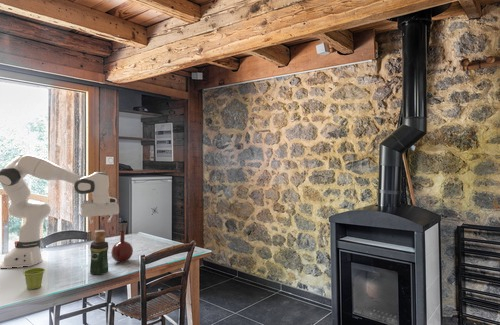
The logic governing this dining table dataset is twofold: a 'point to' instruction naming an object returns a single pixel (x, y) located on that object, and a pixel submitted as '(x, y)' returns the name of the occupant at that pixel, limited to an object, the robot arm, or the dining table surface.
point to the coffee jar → (99, 258)
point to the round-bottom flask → (122, 249)
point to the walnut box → (99, 236)
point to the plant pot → (34, 277)
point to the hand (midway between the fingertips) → (100, 223)
